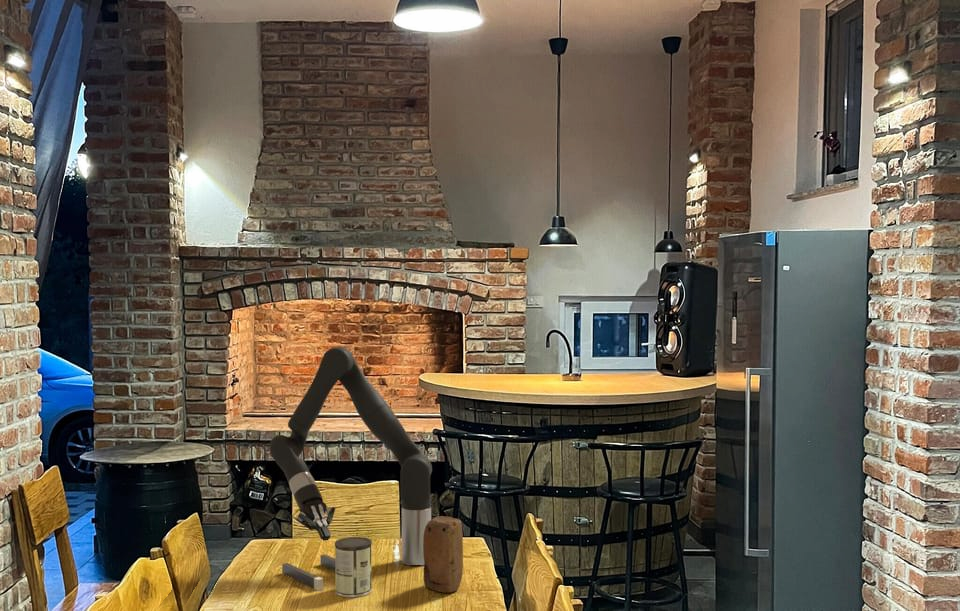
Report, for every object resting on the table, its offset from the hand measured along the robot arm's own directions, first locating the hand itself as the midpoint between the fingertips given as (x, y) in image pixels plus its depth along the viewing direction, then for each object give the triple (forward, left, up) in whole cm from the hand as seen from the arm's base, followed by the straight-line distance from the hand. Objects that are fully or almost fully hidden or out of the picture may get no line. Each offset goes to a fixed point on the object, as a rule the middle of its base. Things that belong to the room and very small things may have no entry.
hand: (327, 539), depth 256 cm
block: (-20, +29, -12) cm, 37 cm away
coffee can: (0, +14, -12) cm, 19 cm away
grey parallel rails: (0, -3, -12) cm, 12 cm away
